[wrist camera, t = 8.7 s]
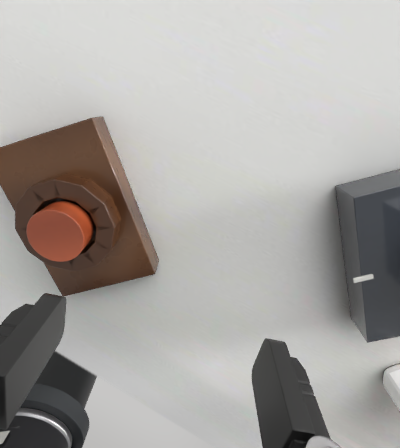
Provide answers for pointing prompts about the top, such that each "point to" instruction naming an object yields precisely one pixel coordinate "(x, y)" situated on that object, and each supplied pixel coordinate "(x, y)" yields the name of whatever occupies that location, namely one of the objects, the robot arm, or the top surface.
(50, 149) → the button block
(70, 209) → the button
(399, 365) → the eye dropper bottle
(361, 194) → the dark grey slab base
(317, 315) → the top surface
